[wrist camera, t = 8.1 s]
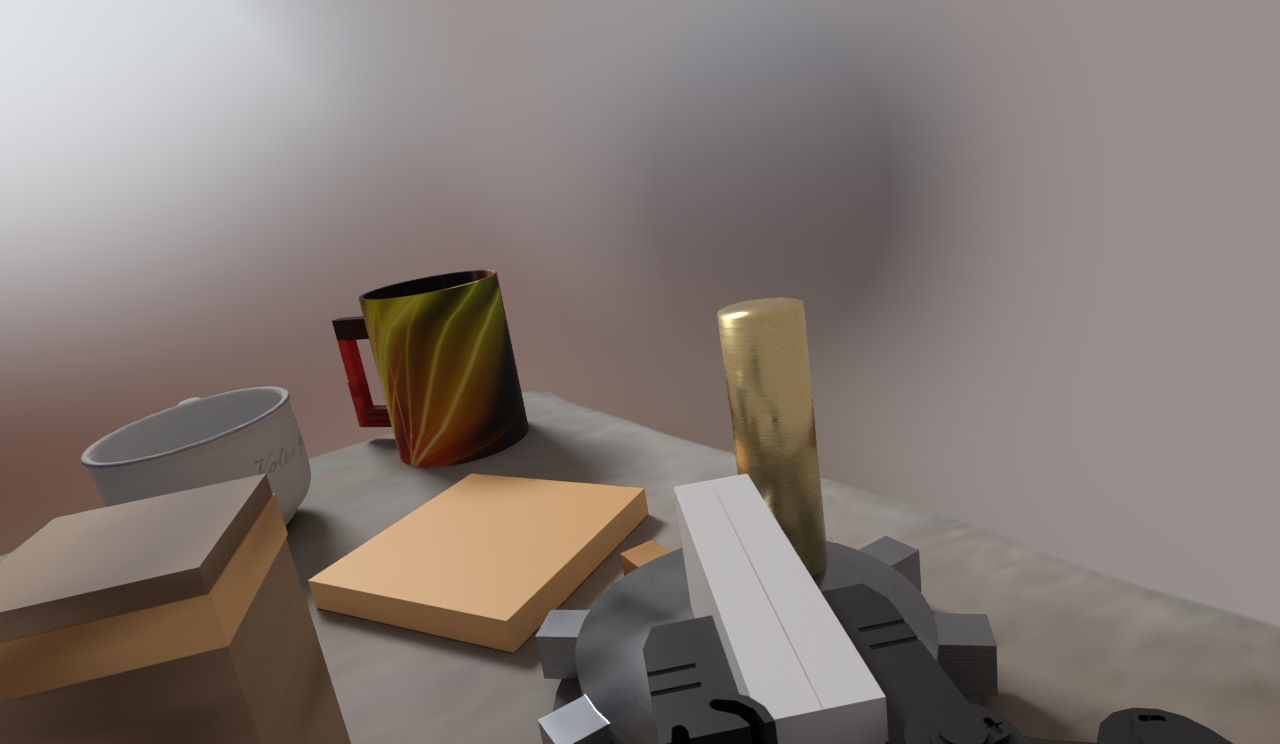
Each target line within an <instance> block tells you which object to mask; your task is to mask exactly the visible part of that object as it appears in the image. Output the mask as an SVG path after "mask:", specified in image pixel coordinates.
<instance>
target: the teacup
mask: <svg viewBox="0 0 1280 744" xmlns="http://www.w3.org/2000/svg"><path fill="white" fill-rule="evenodd" d="M81 461H82V464H83V465H84V467H85V468H87V469H88V470H89V472H90V473H91V476H92V478H93V480H94V482H95V484H96V486H97V488H98V491H99V493H100V495H101V497H102V499H103V501H104V503H105V505H106V507H110V506H114V505H119V504H124V503H128V502H133V501H138V500H143V499H147V498H152V497H157V496H162V495H166V494H171V493H176V492H180V491H185V490H190V489H195V488H199V487H204V486H209V485H213V484H218V483H223V482H228V481H232V480H237V479H242V478H247V477H251V476H256V475H261V474H265V473H266V475H267V478H268V481H269V484H270V487H271V491H272V494H274V493H275V494H276V498H277V501H278V504H279V507H280V510H281V514H282V517H283V520H284V523H285V526H286V525H287V524H288V523H289V521H290V520H291V519H292V517H293V516H294V514H295V511H296V509H297V508H298V506H299V505H300V504H301V502H302V501H303V499H304V498H305V496H306V494H307V492H308V489H309V486H310V480H311V471H310V464H309V460H308V456H307V453H306V449H305V445H304V442H303V439H302V436H301V433H300V430H299V427H298V424H297V421H296V419H295V416H294V413H293V411H292V408H291V405H290V395H289V392H288V391H287V390H286V389H282V388H280V387H273V386H271V387H268V386H266V387H254V388H248V389H241V390H235V391H231V392H226V393H222V394H218V395H214V396H210V397H206V398H202V399H200V398H191V399H188V400H185V401H182V402H180V403H179V404H178V405H177V406H176V407H173V408H170V409H167V410H164V411H161V412H159V413H156V414H153V415H150V416H148V417H146V418H143V419H140V420H138V421H135V422H133V423H131V424H129V425H127V426H124V427H122V428H120V429H119V430H117V431H115V432H113V433H111V434H108V435H106V436H105V437H103V438H102V439H101V440H99V441H98V442H96V443H94V444H93V445H92V446H90V447H89V448H88V449H87V450H86V451H85V452H84V453H83V455H82V457H81Z"/></svg>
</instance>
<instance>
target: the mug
mask: <svg viewBox="0 0 1280 744" xmlns="http://www.w3.org/2000/svg"><path fill="white" fill-rule="evenodd" d="M359 301H360V305H361V309H362V313H363V316H362V317H348V318H340V319H337V320H333V321H332V322H333V326H334V330H335V334H336V337H337V341H338V344H339V348H340V352H341V356H342V359H343V363H344V367H345V370H346V374H347V378H348V381H349V383H348V385H349V389H350V392H351V396H352V400H353V403H354V407H355V411H356V414H357V418H358V422H359V425H360V427H392V429H393V433H394V436H395V440H396V444H397V448H398V452H399V456H400V459H401V460H402V461H403V462H404V463H406V464H408V465H411V466H416V467H442V466H450V465H456V464H461V463H467V462H470V461H474V460H478V459H481V458H484V457H487V456H490V455H493V454H495V453H498V452H500V451H503V450H505V449H507V448H509V447H510V446H512V445H514V444H515V443H517V442H518V441H520V440H521V439H522V438H523V437H524V436H525V435H526V434H527V432H528V422H527V417H526V412H525V407H524V402H523V398H522V393H521V388H520V384H519V379H518V374H517V369H516V364H515V359H514V354H513V350H512V344H511V340H510V335H509V330H508V325H507V320H506V315H505V310H504V306H503V301H502V296H501V291H500V287H499V281H498V276H497V272H496V271H494V270H474V271H464V272H456V273H449V274H442V275H436V276H430V277H425V278H420V279H416V280H410V281H406V282H402V283H398V284H394V285H390V286H386V287H382V288H379V289H376V290H373V291H370V292H367V293H365V294H363V295H361V296H360V297H359ZM358 339H369V340H370V344H371V348H372V352H373V356H374V359H375V363H376V367H377V371H378V375H379V378H380V382H381V386H382V390H383V394H384V398H385V402H386V405H373V403H372V399H371V395H370V391H369V387H368V383H367V380H366V376H365V372H364V368H363V365H362V361H361V357H360V353H359V349H358V346H357V342H356V340H358Z"/></svg>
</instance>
